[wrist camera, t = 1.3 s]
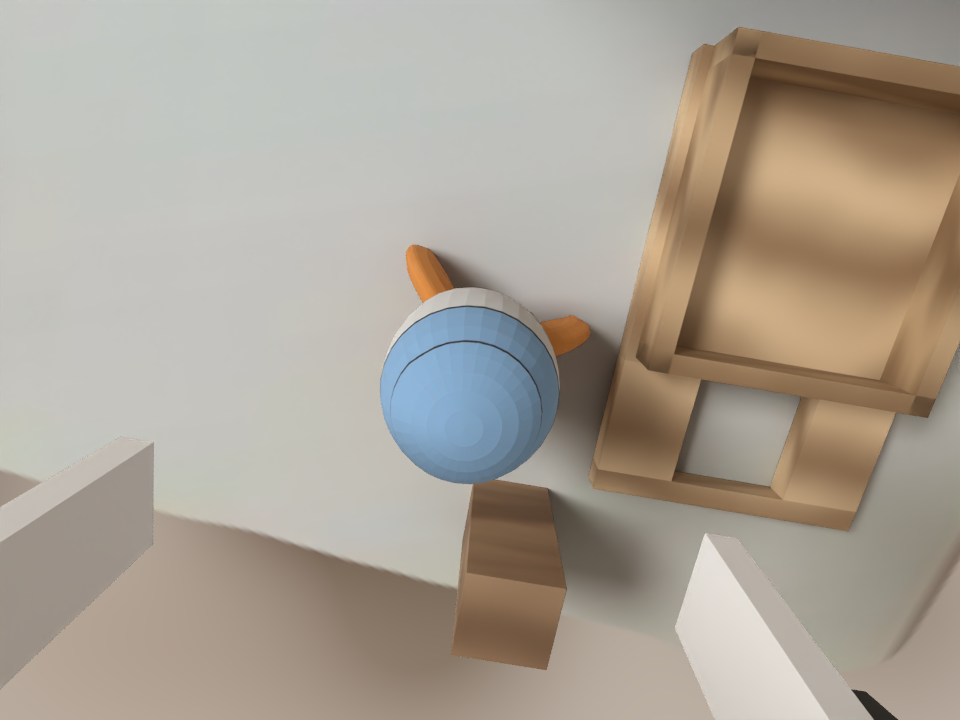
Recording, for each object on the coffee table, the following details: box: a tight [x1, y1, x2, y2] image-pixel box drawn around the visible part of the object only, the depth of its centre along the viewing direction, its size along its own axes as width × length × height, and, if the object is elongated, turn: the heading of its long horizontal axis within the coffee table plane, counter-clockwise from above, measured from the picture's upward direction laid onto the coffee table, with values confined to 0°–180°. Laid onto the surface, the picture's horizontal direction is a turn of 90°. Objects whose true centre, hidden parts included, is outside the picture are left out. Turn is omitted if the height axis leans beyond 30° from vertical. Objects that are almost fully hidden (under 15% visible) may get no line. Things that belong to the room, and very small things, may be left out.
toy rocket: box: [380, 245, 590, 484], centre depth 24 cm, size 10×11×15 cm
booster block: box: [451, 479, 567, 670], centre depth 28 cm, size 4×4×9 cm
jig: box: [589, 27, 960, 531], centre depth 27 cm, size 23×15×4 cm, turn 170°
